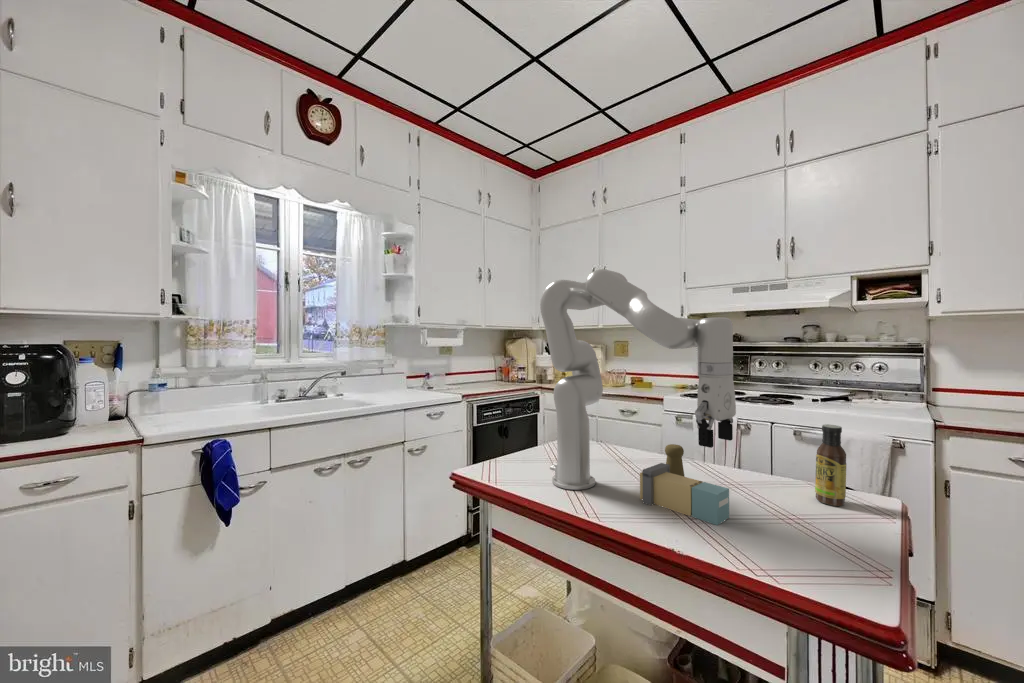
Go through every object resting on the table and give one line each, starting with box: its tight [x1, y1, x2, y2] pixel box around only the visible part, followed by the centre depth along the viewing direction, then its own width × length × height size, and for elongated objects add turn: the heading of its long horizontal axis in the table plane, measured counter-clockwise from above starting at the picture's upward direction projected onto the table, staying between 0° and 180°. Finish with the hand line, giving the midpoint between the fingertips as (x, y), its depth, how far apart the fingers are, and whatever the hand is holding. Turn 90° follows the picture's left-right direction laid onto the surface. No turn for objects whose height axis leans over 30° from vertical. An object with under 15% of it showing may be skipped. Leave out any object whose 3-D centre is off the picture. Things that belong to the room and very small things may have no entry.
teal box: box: [691, 481, 730, 526], centre depth 100 cm, size 6×6×7 cm
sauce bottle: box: [814, 423, 847, 507], centre depth 108 cm, size 6×6×20 cm
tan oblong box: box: [639, 462, 704, 517], centre depth 108 cm, size 14×9×9 cm, turn 39°
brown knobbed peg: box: [664, 443, 686, 477], centre depth 124 cm, size 6×6×11 cm
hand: (715, 442), depth 99 cm, fingers open, 9 cm apart
